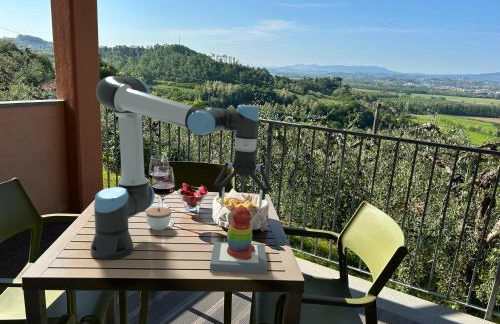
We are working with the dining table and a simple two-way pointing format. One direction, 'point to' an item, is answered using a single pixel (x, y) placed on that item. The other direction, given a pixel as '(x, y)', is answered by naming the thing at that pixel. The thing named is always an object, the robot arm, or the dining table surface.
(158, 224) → the lidded jar
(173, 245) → the dining table surface
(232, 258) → the slate plinth
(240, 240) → the stacking bear
